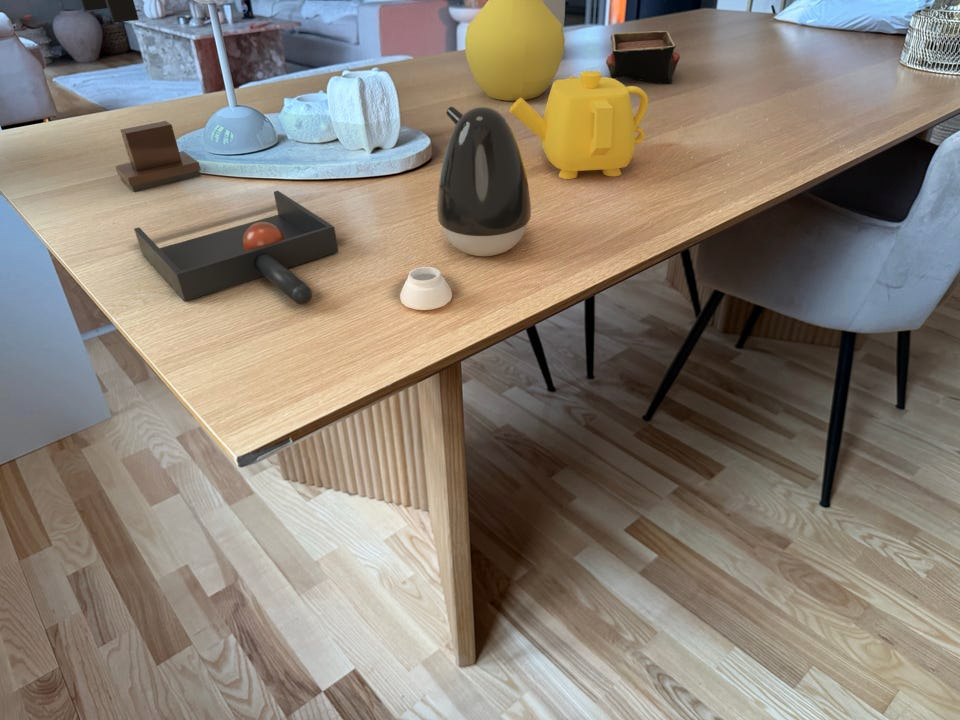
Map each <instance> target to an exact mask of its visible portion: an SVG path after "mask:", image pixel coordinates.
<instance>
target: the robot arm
mask: <svg viewBox="0 0 960 720" xmlns="http://www.w3.org/2000/svg"><path fill="white" fill-rule="evenodd" d="M80 1H81V5H82V7H83V10H84V12H87V11H97V10H105V9H108V12H109V14H110V18H111V21H112V23H114V24H116V23H123V22H131V21H132V22H133V21H139V16H138V15H139V14H138V12H137V9H136V5H135V2H134V0H80Z"/></svg>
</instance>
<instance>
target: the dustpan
mask: <svg viewBox="0 0 960 720" xmlns="http://www.w3.org/2000/svg"><path fill="white" fill-rule="evenodd" d="M273 196H274V202H275V206H276V210H277V214H276V215H271V216H269V217H265V218H260V219H258V220H254V221H251V222H247V223H244V224H239V225H237V226H233V227H230V228H226V229H223V230H219V231H215V232H211V233H209V234H205V235H201V236H197V237H194V238H190V239H187V240H183V241H180V242H177V243H173V244H169V245H165V246H162V247H159V246H158V245H157V244H156V243H155V242H154V241H153V239H151V238H150V237H149V236H148V235H147V234H146V232H145V231H143V229H142V228H141V227H135V228H134V229H133V230H134V233H135V236H136V240H137V242H138V246H139V248H140V251H141V255H142V256H143V257H144V258H145V259H146V261H147V262H148V263H149V264H150V265H151V267H153V268H154V269H155V270H156V272H157V273H158V274H159V275H160V276H161V277H162V278H163V280H164V281H165V282H166V283H167V284H168V285H169V286H170V287H171V289H172V290H173V291H174V292H175V294H177V296H179V298H180V299H181V300H182V301H184V302H187V301H190V300H193V299H197V298H199V297H202V296H205V295H209V294H212V293H215V292H218V291H221V290H224V289H227V288H230V287H233V286H237V285H239V284H243V283H245V282H248V281H252V280H255V279H257V278H261V277H265V278H266V279H267V280H268V281H269V282H270V283H272V284H273V285H274V286H275V287H276V288H278V289H279V290H280V291H281V292H283V293H284V294H285V295H286V297H288V298H289V299H291V300H292V301H293V302H294V303H295V304H297V305H306V304H308V303H310V301H311V300H312V298H313V290H312V288H311V287H310V286H309V285H308V284H306V283H305V282H304V281H303V280H302V279H300V278H299V277H298V276H297V275H296V274H294V273H293V272H292V271H290V270H289V269H288V268H292V267H294V266H298V265H301V264H304V263H308V262H310V261H314V260H316V259H320V258H322V257H326V256H328V255H331V254H335V253H337V252H339V247H338V242H337V236H336V228H335V226H334V225H332V224H331V223H330V222H328V221H326V219H323V218H322V217H320V216H318V215H317V214H316V213H314V212H313V211H311V210H310V209H307V208H306V207H304V206H302V205H301V204H300V203H298V202H297V201H295V200H293V199H292V198H290V197H289V196H287V195H286V194H284V193H283V192H281V191H279V190H274V191H273ZM258 222H268V223H271V224H273V225H275V226H276V227H278V228H279V229H280V230H281V232H282V233H283V235H284V238H285V240H281V241H278V242H275V243H271V244H268V245H265V246H262V247H258V248H255V249H252V250H248V251H245V250H244V247H243V236H244V233H245V231H246V230H247V229H248V228H249V227H250V226H251V225H253V224H255V223H258Z"/></svg>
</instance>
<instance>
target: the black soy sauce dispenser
mask: <svg viewBox="0 0 960 720" xmlns="http://www.w3.org/2000/svg"><path fill="white" fill-rule="evenodd" d="M446 109H447V110H446V116H447V118H449V119H450V120H451V122H453V124H454V125H455V126H454V127H453V130H452V132H451V135H450V137H449V140H448V143H447V145H446V150H445V153H444V157H443V160H442V166H441V171H440V176H439V183H438V194H437V195H438V196H437V209H436V210H437V221H438V223H439V224H440V226H441V227H442V230H443V233H444V234H445V237H446V239H447V240H448V241H449V243H450V244H451V245H452V246H453V247H454V248H455V249H457V250H458V251H460V252H462V253H465V254H467V255H471V256H475V257H491V256H497V255H501V254H503V253H506V252H508V251H509V250H511V249H513V248H514V247H515V246H516V245H517V244H518V243H519V242H520V240H521V239H522V238H523V236H524V234H525V232H526V229H527V226H528V224H529V221H530V220H531V219H532V218H531V217H532V202H531V195H530V187H529V181H528V176H527V170H526V168H525V163H524V159H523V156H522V153H521V150H520V147H519V144H518V141H517V139H516V136H515V134H514V131H513V130H512V127H511V125H510V124H509V122H508V121H507V119H506V118H505V117H504V116H503V115H502V114H501V113H500V112H499V111H498V110H496V109H494V108H491V107H488V106H487V107H486V106H476V107H473V108H471V109H469V110H467V111H466V112H464V113H462V112H461V111H459V110H458V109H457V108H456V107H454V106H449V107H448V108H446Z"/></svg>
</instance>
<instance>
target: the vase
mask: <svg viewBox="0 0 960 720" xmlns="http://www.w3.org/2000/svg"><path fill="white" fill-rule="evenodd" d="M565 40H566V38H565V33H564V27H562V24H561V23H560V22H559V21H558V19H557V18H556V17H555V16H554V15H553V14H552V12H551V11H550V10H549V9H548V8H547V7H546V5H545V4H544V3H543V2H542V0H487V1H486V3H485V4H484V6H483V7H482V8H481V9H480V10H479V12H478V13H477V14H476V16H474V17H473V19H472V20H471V21H470V22H469V24H468V25H467V27H466V32H465V38H464V46H465V47H464V48H465V56H466V59H467V64H468V67H469V69H470V71H471V74H472V76H473V78H474V80H475V82H476V83H477V84H478V86H479V88H480V89H481V90H482V91H483V92H484V93H485V94H486V95H487V96H488V97H489V98H492V99H495V100H499V101H506V102H516V101H517V100H518V99H519V98H522V99H523V100H524V101H529V100H533V99H535V98H538V97H540V96H541V95H542V94H543V93H544V92H545V91H546V89H548V88H549V86H550V85H551V83H552V81H553V80H554V78H555V77H556V74H557V73H558V70H559V68H560V65H561V61H562V59H563V56H564V52H565Z"/></svg>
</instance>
